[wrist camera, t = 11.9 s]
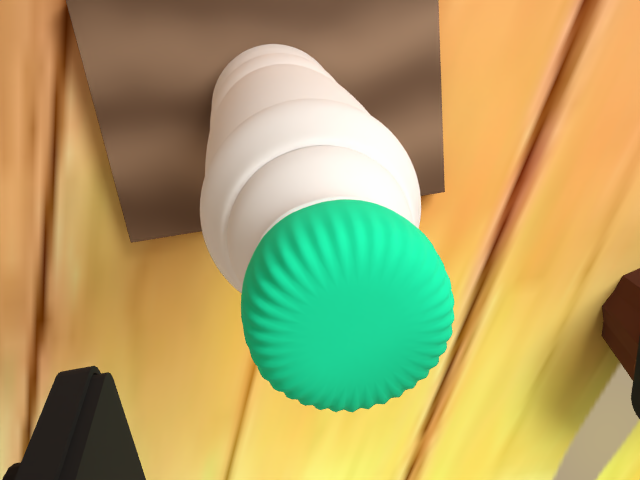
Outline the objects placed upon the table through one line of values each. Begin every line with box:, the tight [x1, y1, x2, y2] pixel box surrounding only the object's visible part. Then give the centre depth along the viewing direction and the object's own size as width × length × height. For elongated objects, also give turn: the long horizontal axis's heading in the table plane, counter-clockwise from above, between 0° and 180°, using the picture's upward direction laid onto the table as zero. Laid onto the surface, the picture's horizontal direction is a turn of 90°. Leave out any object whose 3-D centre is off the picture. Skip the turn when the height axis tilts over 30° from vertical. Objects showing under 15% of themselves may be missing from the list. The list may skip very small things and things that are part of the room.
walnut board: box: [66, 0, 445, 242], centre depth 36 cm, size 14×20×2 cm
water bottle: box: [200, 44, 454, 412], centre depth 24 cm, size 7×7×25 cm
